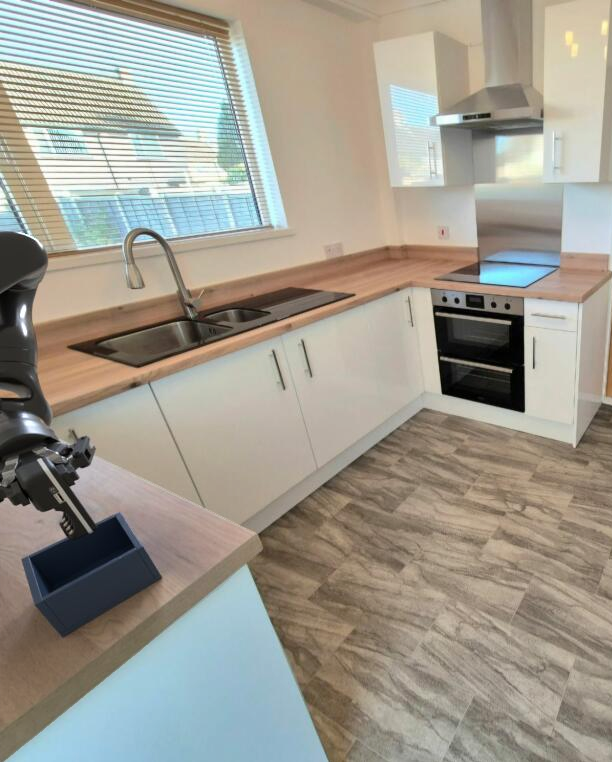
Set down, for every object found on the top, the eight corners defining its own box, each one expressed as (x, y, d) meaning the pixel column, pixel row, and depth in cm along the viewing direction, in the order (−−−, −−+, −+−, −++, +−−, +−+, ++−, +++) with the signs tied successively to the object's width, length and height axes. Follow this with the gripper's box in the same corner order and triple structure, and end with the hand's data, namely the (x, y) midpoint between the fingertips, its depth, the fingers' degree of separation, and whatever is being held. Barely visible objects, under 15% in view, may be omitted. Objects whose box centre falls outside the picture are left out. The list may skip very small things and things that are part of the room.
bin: (62, 637, 58) (34, 605, 55) (46, 590, 65) (20, 559, 62) (162, 577, 66) (143, 546, 63) (138, 541, 73) (120, 511, 70)
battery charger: (53, 527, 63) (6, 466, 58) (86, 511, 66) (44, 452, 60) (65, 548, 59) (17, 485, 54) (100, 530, 62) (57, 468, 57)
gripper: (94, 444, 73) (125, 482, 63) (-29, 492, 63) (-14, 545, 54) (71, 407, 69) (100, 440, 60) (-63, 451, 60) (-54, 500, 50)
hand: (46, 489), depth 57 cm, fingers closed on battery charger, 4 cm apart
